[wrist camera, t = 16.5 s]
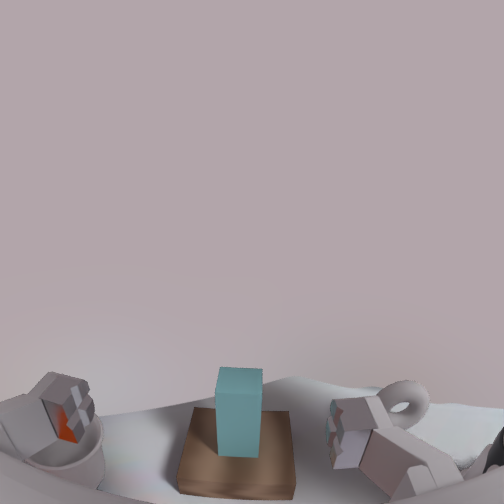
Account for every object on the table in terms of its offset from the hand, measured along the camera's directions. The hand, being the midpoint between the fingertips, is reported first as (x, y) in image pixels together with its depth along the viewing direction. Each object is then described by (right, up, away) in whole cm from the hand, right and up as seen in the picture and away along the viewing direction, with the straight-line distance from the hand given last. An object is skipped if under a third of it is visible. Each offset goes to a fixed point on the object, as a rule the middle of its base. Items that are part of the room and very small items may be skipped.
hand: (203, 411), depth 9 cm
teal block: (0, -20, +28) cm, 34 cm away
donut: (+24, -24, +33) cm, 47 cm away
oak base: (0, -24, +29) cm, 37 cm away
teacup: (-22, -25, +21) cm, 40 cm away
